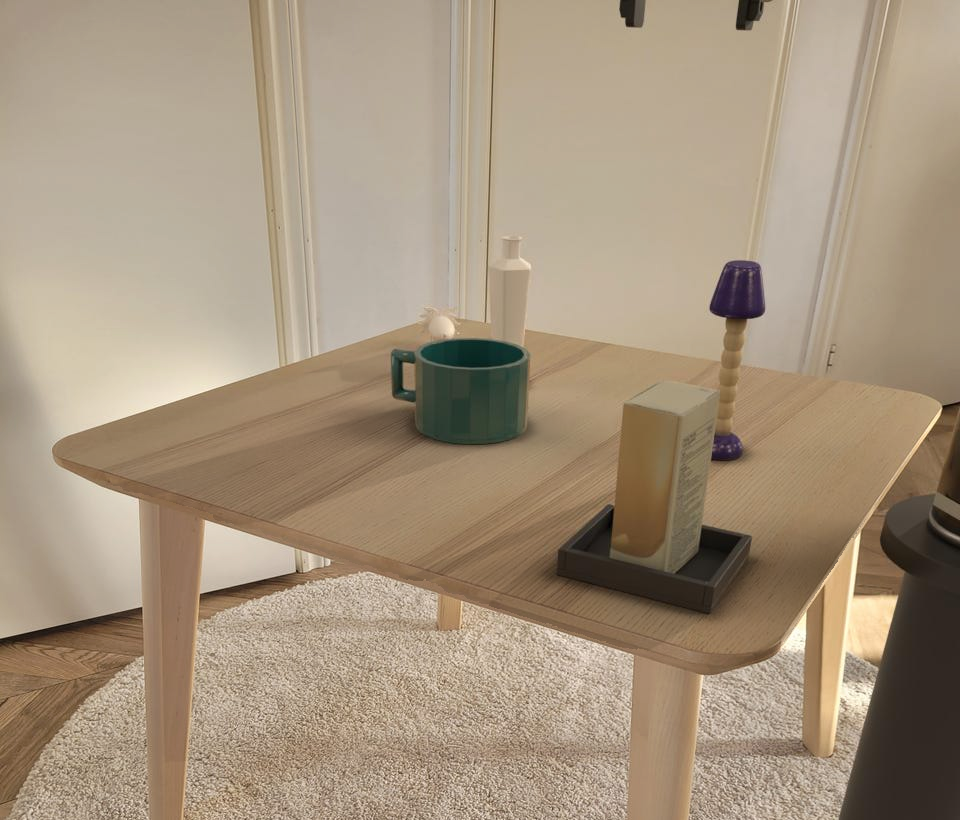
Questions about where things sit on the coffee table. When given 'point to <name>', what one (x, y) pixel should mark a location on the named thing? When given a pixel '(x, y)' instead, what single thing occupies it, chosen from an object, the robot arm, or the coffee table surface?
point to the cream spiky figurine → (439, 323)
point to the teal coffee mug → (466, 389)
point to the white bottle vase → (509, 293)
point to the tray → (686, 588)
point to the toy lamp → (734, 343)
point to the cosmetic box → (663, 474)
